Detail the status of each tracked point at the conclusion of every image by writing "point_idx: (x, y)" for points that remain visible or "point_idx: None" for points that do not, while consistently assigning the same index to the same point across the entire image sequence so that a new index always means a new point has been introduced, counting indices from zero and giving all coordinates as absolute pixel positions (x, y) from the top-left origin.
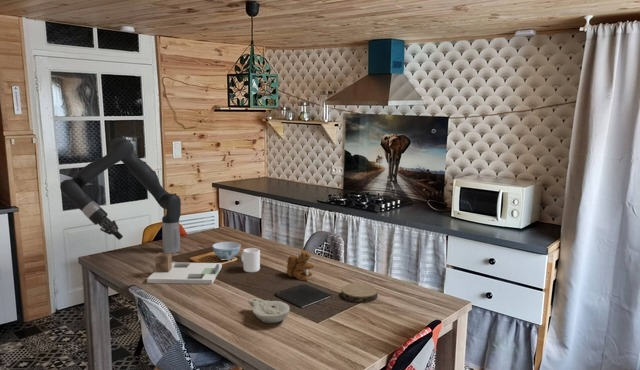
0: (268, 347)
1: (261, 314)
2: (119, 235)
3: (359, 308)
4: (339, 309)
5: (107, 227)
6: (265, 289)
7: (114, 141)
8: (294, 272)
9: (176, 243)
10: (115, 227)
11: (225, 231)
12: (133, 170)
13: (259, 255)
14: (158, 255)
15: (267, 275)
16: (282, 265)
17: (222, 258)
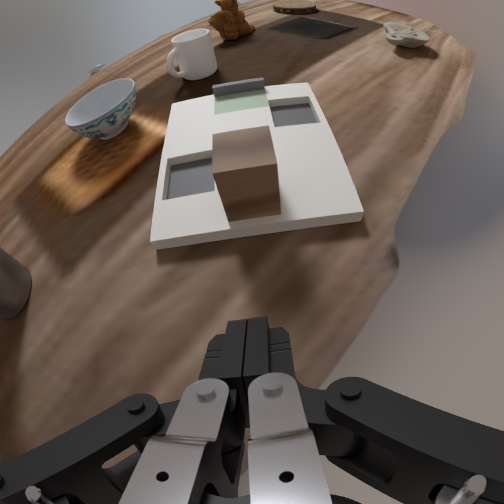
0: (458, 51)
1: (427, 37)
2: (269, 339)
3: (332, 10)
4: (343, 15)
5: (463, 451)
6: (307, 44)
7: None
8: (243, 27)
9: (7, 253)
10: (166, 430)
11: None
12: None
13: (197, 37)
14: (261, 157)
15: (233, 53)
16: (174, 57)
17: (126, 121)
